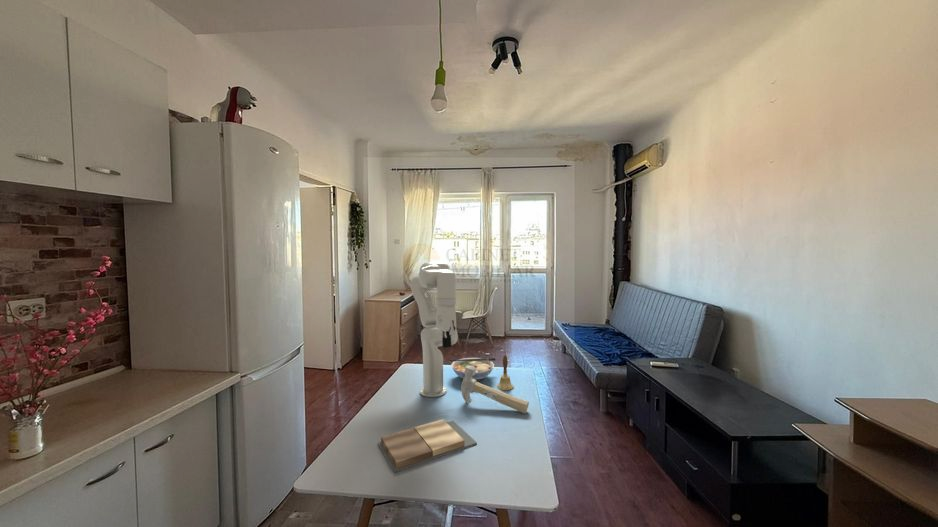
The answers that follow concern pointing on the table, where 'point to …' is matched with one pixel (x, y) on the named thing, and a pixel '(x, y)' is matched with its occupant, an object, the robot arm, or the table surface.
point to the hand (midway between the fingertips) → (446, 346)
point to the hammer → (489, 392)
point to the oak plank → (439, 437)
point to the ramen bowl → (480, 364)
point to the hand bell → (505, 377)
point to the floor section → (414, 447)
